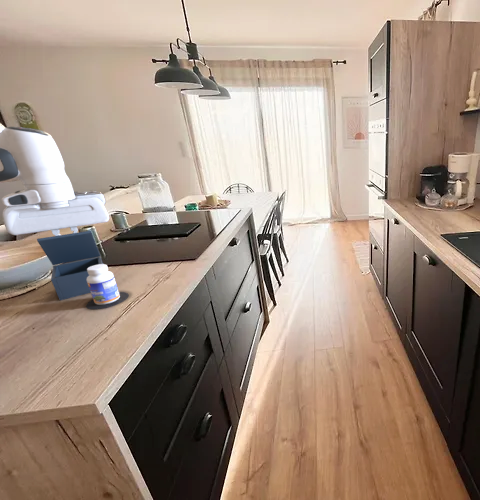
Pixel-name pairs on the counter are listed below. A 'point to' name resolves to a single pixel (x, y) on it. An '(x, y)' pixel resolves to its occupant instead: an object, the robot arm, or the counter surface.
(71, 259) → the box lid
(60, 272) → the box
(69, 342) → the counter surface
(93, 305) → the coaster
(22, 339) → the counter surface
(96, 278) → the pill bottle
